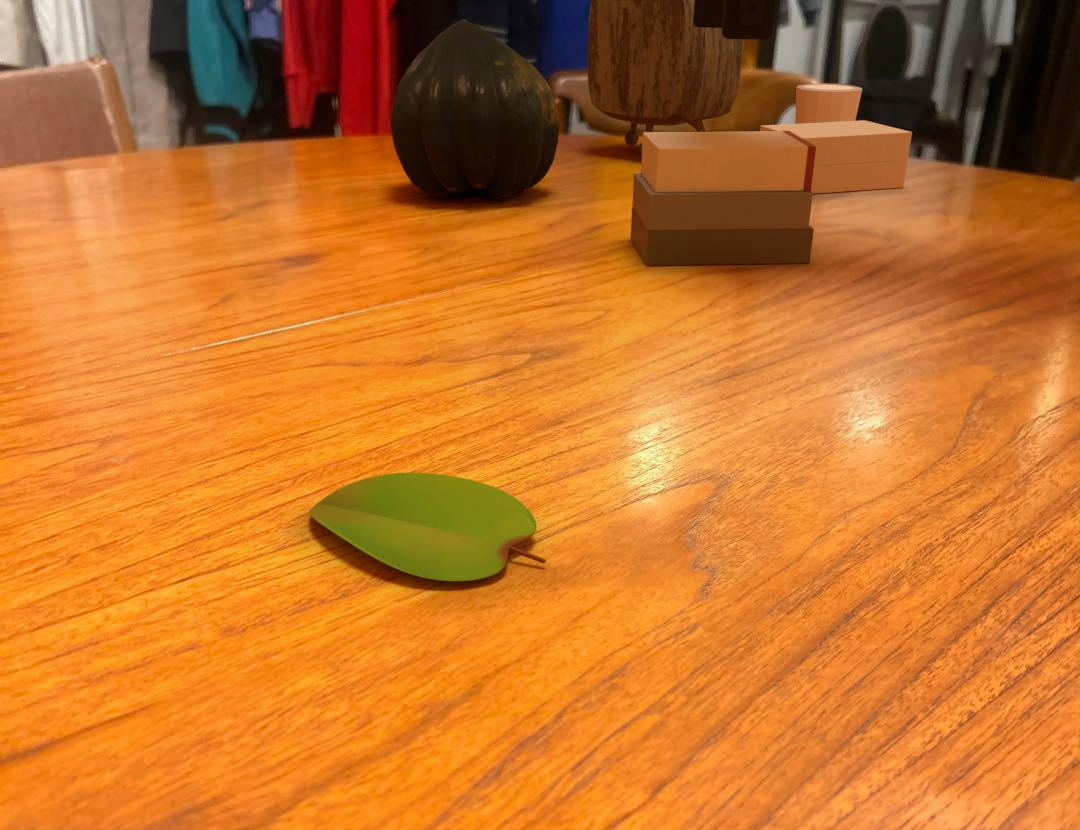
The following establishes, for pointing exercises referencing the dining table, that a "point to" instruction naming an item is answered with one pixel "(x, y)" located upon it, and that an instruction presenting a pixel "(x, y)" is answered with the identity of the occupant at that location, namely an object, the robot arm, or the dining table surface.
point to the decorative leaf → (429, 524)
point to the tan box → (727, 161)
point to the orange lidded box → (853, 154)
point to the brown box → (720, 226)
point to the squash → (473, 117)
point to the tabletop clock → (659, 65)
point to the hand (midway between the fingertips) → (729, 32)
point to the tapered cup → (826, 103)
